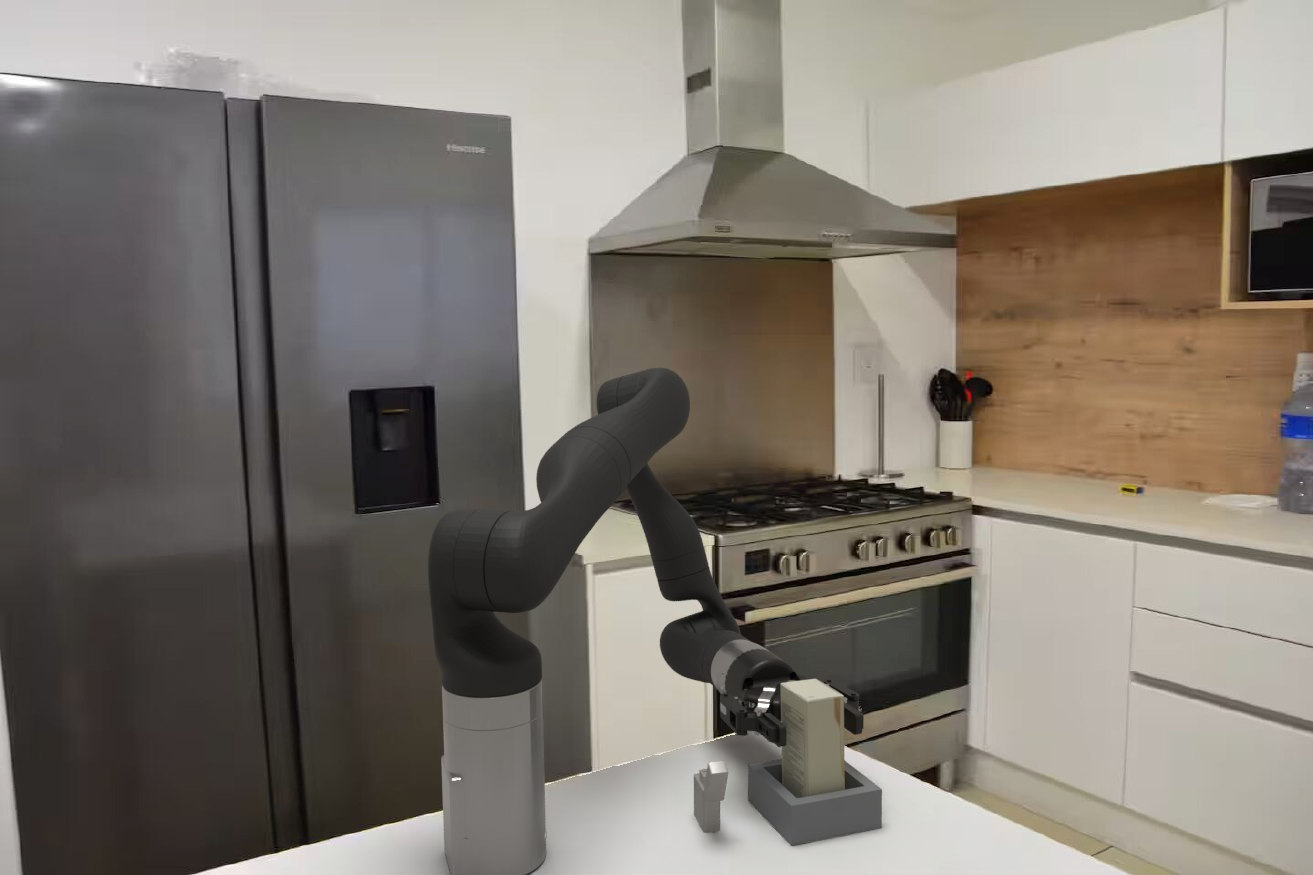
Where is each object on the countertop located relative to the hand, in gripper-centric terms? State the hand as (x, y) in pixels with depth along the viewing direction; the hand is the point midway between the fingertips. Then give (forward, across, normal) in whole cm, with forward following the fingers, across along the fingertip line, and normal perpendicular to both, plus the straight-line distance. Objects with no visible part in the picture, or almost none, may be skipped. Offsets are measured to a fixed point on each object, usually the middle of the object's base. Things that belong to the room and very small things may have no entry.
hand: (822, 731), depth 98 cm
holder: (-2, 0, +10) cm, 10 cm away
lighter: (-3, -11, +10) cm, 15 cm away
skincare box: (-2, 0, +9) cm, 9 cm away
